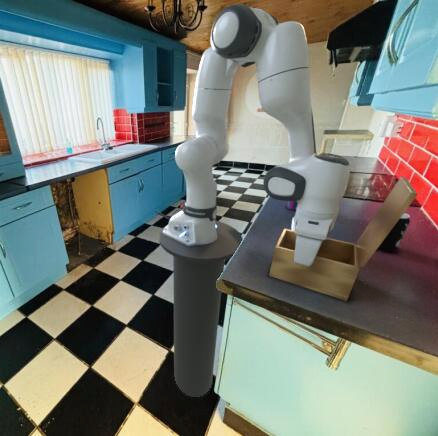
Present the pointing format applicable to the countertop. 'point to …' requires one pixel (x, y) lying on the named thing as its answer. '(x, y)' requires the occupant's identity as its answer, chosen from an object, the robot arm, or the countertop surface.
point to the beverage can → (395, 234)
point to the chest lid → (385, 219)
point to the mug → (292, 205)
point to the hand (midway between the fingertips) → (302, 262)
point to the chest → (318, 266)
